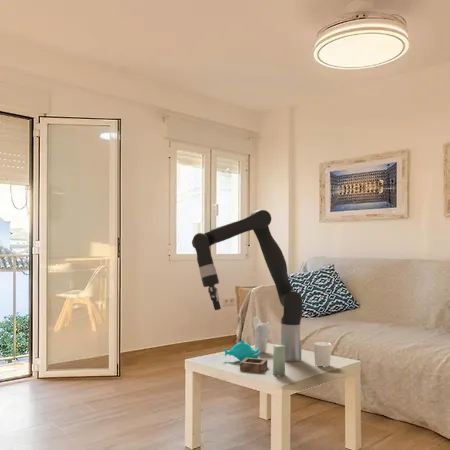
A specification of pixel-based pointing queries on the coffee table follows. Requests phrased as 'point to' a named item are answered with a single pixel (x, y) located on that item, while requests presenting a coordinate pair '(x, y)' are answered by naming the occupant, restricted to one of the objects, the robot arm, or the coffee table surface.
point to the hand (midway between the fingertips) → (218, 309)
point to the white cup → (322, 353)
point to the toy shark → (243, 351)
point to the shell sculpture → (261, 334)
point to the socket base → (253, 364)
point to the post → (279, 360)
